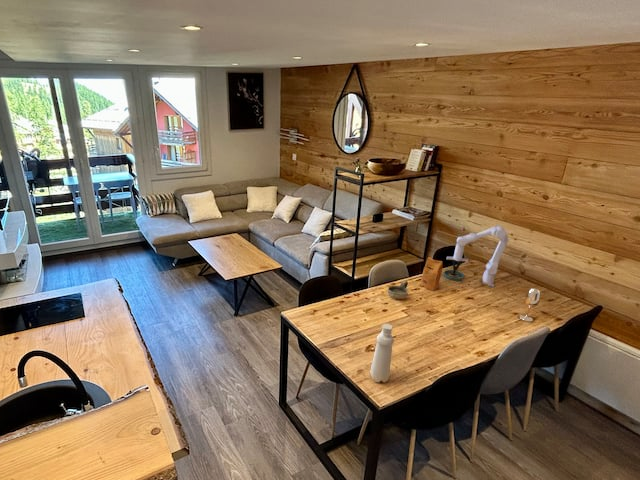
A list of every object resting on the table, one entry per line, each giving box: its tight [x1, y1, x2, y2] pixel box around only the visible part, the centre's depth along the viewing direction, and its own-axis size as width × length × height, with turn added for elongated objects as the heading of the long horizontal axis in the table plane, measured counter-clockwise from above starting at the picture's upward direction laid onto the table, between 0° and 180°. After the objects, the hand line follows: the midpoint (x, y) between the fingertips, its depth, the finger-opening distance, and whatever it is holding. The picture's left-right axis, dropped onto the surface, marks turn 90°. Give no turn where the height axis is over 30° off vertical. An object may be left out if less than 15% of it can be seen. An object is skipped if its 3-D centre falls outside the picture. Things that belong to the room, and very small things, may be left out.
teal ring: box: [443, 269, 465, 282], centre depth 295 cm, size 14×14×4 cm
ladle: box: [450, 265, 458, 277], centre depth 293 cm, size 4×4×7 cm
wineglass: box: [518, 288, 541, 323], centre depth 242 cm, size 8×8×20 cm
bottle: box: [369, 323, 395, 383], centre depth 186 cm, size 9×9×30 cm
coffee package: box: [420, 256, 444, 291], centre depth 279 cm, size 10×12×22 cm
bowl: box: [387, 280, 409, 300], centre depth 266 cm, size 14×18×10 cm
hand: (454, 269), depth 293 cm, fingers closed on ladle
